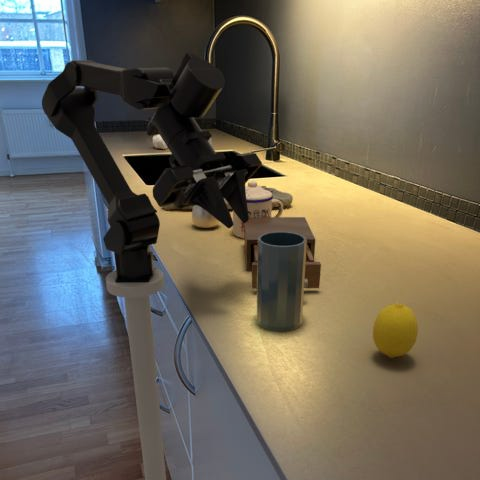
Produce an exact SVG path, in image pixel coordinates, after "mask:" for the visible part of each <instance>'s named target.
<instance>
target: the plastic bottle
mask: <svg viewBox="0 0 480 480" xmlns="http://www.w3.org/2000/svg"><path fill="white" fill-rule="evenodd" d="M209 143H210V144H211V146H212V147H213V139H212V137H211V138H210V139H209ZM191 220H192V223H193V224H194V226H195V227H197V228H202V229H210V228H215V227H217V226H218V224H219V223H220V221H218V220H217V219H216V218H215V217H213V216H212V215H211V214H210V213H208V212H207V211H206V210H204V209H203V208H201V207H200V206H197V205H194V206H193V210H192V211H191Z"/></svg>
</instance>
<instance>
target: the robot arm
mask: <svg viewBox="0 0 480 480" xmlns="http://www.w3.org/2000/svg"><path fill="white" fill-rule="evenodd" d="M216 67H217V66H215V65H213V64H212V63H211V62H209V61H208V60H206V59H204V58H202V57H201V56H200V55H199V54H198V52H186V53H185V54H184V56H183V58H182V60H181V63H180V66H179V67H178V69H177V71H176V73H175V74H174V71H173V70H172V69H170V68H169V67H137V68H136V67H135V68H133V67H132V68H124V67H119V66H114V65H108V64H103V63H99V62H95V61H93V60H91V59H90V60H89V59H83V60H80V59H79V60H78V59H77V60H76V59H75V60H70V61H69V62H66V64H65V65H64V68H63V70H62V72H60V73H59V74H58V75H57V76H56V77H55V78H53V79H52V80H51V81H49V83H48V84H47V87H46V89H45V91H44V94H43V95H42V99H41V106H42V111H43V113H44V114H45V115H46V117H47V118H48V120H49V121H50V123H51V124H52V125H53V127H54V128H55V129H56V130H57V131H59V132H60V133H61V134H63V135H64V136H66V137H68V138H69V139H71V141H72V143H73V145H74V146H75V148H76V150H77V152H78V154H79V155H80V157H81V159H82V161H83V162H84V164H85V166H86V168H87V169H88V171H89V173H90V175H91V177H92V178H93V180H94V182H95V184H96V185H97V187H98V189H99V190H100V191H99V192H101V194H102V197H103V198H104V200H105V202H106V203H107V205H108V209H107V223H108V225H109V228H108V230H107V232H106V233H105V234H104V236H103V238H102V241H103V244H104V246H105V249H106V250H107V251H109V252H112V253H113V254H114V262H115V270H116V272H117V277H116V279H115V282H116V283H135V282H149V281H150V279H151V276H153V274H154V268H155V261H154V260H155V259H154V252H153V251H152V250H151V247H150V246H151V245H156V244H157V243H158V238H159V231H160V227H161V222H160V219H159V216H158V215H157V213H158V210H157V209H156V208H155V207H154V206H153V204H152V202H151V200H150V197H149V196H148V195H147V194H146V193H141V194H137V193H135V192H134V191H132V189H131V187H130V185H129V183H128V182H127V180H126V178H125V176H124V175H123V173H122V172H121V170H120V168H119V166H118V164H117V162H116V161H115V159H114V157H113V156H112V154H111V152H110V150H109V148H108V147H107V145H106V143H105V142H104V140H103V137H102V136H101V134H100V133H99V130H98V129H97V127H96V125H95V124H96V109H95V104H96V103H97V102H98V99H99V95H98V91H100V92H103V93H109V94H113V95H116V96H118V97H120V98H121V99H122V101H123V102H124V103H125V104H127V105H128V106H131V107H132V108H134V109H136V110H139V111H140V110H152V109H153V110H154V109H156V110H155V112H154V114H153V116H148V119H147V120H148V124H147V127H146V134H147V135H146V136H148V137H149V136H150V137H151V136H152V137H153V136H154V135H159V134H160V136H161V138H162V139H163V141H164V142H165V144H166V145H167V147H168V148H167V149H168V150H169V152H170V156H169V157H168V161H169V165H170V166H171V167H167V168H165V169H164V170H163V172H162V173H161V175H160V176H159V177H158V179H157V180H156V181H155V184H154V185H153V187H152V197H153V199H154V201H155V202H156V204H157V205H158V207H159V208H163V206H167V205H171V204H174V205H175V206H176V207H177V208H178V209H177V210H184V209H183V208H184V207H187V206H194V205H197V206H200V207H201V208H203V209H204V210H206V211H207V212H208V213H210V214H211V215H212V216H213V217H215V218H216V219H217V220H218V221H219V223H220V224H222V225H223V226H224V227H226V228H227V229H232V228H233V225H234V224H233V216H232V215H231V212H230V209H228V207H227V205H226V203H225V201H224V198H225V199H226V201H227V202H228V204H229V205H230V206H231V208H232V209H231V210H232V212H233V211H234V212H235V213H236V215H237V216H238V217H239V219H240V220H241V221H242V222H243V223H246V222H247V221H248V220H249V215H248V207H247V200H246V191H245V186H246V184H247V183H248V182H249V181H250V179H251V178H252V177H253V176H254V174H255V173H256V172H257V171H258V170H259V169H260V168H261V167H262V165H263V162H262V161H261V159H260V158H259V156H258V155H257V153H256V152H249V151H248V152H243V153H239V154H235V155H234V156H233V157H232V159H231V160H230V161H229V162H228V163H227V165H226V166H224V164H223V163H224V161H225V160H226V159H227V157H226V155H225V154H224V152H217V151H216V150H215V149H214V147H213V145H212V146H211V144H210V143H209V139H210V138H212V136H213V135H212V134H211V132H210V130H209V129H208V130H202V129H201V127H200V126H199V124H198V123H197V120H195V118H196V119H199V118H203V117H204V116H205V115H206V114H207V112H208V111H209V109H210V108H211V106H212V104H213V103H214V102H215V100H216V99H217V97H218V96H219V94H220V93H221V92H222V90H223V88H224V87H225V84H226V80H225V77H224V75H223V73H222V71H221V70H220V68H216Z"/></svg>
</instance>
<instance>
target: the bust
mask: <svg viewBox="0 0 480 480" xmlns="http://www.w3.org/2000/svg"><path fill="white" fill-rule="evenodd" d="M152 145H153V147H154V148H155V149H158V150H159V149H160V150H167V149H168V147H167V145H166V144H165V142H164V141H163V139H162V138H161V136H160V134H159V135H152Z"/></svg>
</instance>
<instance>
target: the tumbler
mask: <svg viewBox="0 0 480 480" xmlns="http://www.w3.org/2000/svg"><path fill="white" fill-rule="evenodd" d="M306 246H307V240H306V237H304V236H302V235H301V234H297V233H293V232H269V233H265V234H262V235H260V236H259V237H258V251H257V289H256V323H257V325H258V326H259V327H260V328H261V329H265V330H268V331H272V332H289V331H293V330H296V329H297V328H299V327H300V326H301V325H302V321H303V312H304V296H305V295H304V294H305V293H304V292H305V288H304V279H305V262H306Z"/></svg>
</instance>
